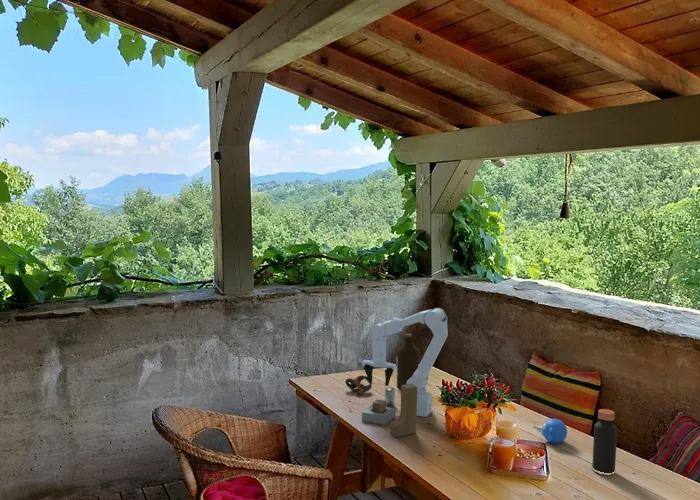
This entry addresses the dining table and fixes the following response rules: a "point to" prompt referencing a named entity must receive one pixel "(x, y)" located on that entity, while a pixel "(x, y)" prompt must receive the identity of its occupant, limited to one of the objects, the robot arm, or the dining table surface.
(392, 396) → the round peg
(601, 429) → the bottle
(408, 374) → the olive oil
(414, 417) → the brown boot
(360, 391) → the pottery mug
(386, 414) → the socket block
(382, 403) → the square peg
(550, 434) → the blue rubber bulb blower
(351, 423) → the dining table surface
